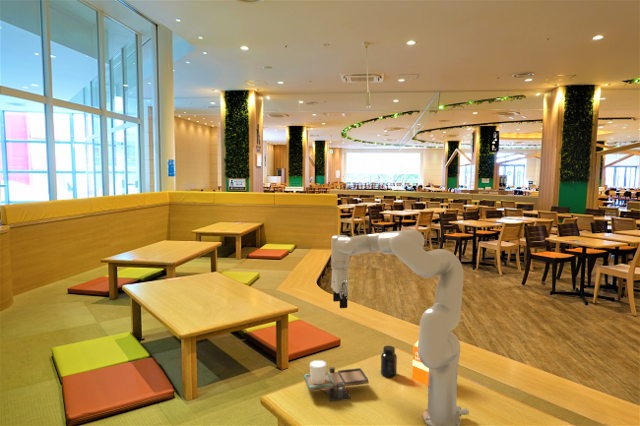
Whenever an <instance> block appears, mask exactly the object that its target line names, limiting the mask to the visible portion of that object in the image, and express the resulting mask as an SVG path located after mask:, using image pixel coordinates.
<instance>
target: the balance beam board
mask: <svg viewBox="0 0 640 426" xmlns="http://www.w3.org/2000/svg"><path fill="white" fill-rule="evenodd" d="M303 379H304V382H305V384H306V388H307V390H308V392H314V391H321V390H322V391H323V390H325V389H330V388H337V382H343V387H345V388H346V387H353V386H360V385H368V384H369V378H368V377H367V375H366V374H365V372H364V371H363V369H362V368H360V367H357V368H349V369H340V370H337V371H335V372H334V373H329V372H328V371H326V378H325V382H324V383H323V384H314V383H312V382H311V374H310V373H308V374H307V373H306V374H304V375H303Z"/></svg>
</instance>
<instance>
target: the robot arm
mask: <svg viewBox="0 0 640 426" xmlns="http://www.w3.org/2000/svg"><path fill="white" fill-rule="evenodd" d="M330 243H331V246H330V247H331V248H330V249H331V254H330V256H331V259H330V260H331V261H330V262H331V263H330V265H331V266H330V268H331V269H332V270H331V281H330V282H331V284H330V285H331V286H330V287H331V289H332V293H333V294H332V297H333V299H332V301H333V303H334V302H339V309H347V308H348V296H349V295H348V292H349V273H348V271H349V269H350V257H351V256H358V255H362V254H366V253H367V254H368V253H378V252H379V253H381V254H382V255H395V256H396V257H397V258H398V259H399V260H400V261H401V262H403V263H404V264H405V265H406V266H407V267H408V268H409V269H410V270H411V271H413V272H414V273H415V274H416V275H417V276H419V277H421V278H423V279H431V278H435V277H437V276H438V281H437V284H436V287H435V298H434V303H433V305H432V306H430V307H428V308H427V309H426V310H424V312H423V313H422V314H421V318H420V321H419V328H418V339H417V341H418V355H419V358H420V361H421V362H422V364H423V365H424V366H426V367H427V368H429V376H428V387H427V388H428V389H427V392H428V393H427V409H425V410H424V411H423V413H422V419H423V421H424V423H425V424H426V425H428V426H461V424H462V423H461V422H462V421H461V417H462V416H466V415H469V413H470V411H469V409H468V408H462V406H461V405H457V396H458V392H457V391H458V372H459V371H458V369H459V368H458V367H459V362H460V355H461V343H460V340H459V337H458V336H457V335H456V334H455V333H453V330H455V328H456V327H457V326H459V323H460V322H461V321H460V320H461V312H462V302H463V301H462V300H463V289H464V287H463V286H464V276H465V273H464V269H463V265H462V262H461V261H460V259H459V258H458V257H457V256H456V255H455V254H454V253H453V252H452V251H450V250H447V249H443V248H437V249H432V250H429V251H426V250H425V249H424V246H425V236H424V235H423V233H422V232H420V231H419V230H417V229H405V230H394V231H393V230H392V231H383V232H379V233H372V234H369V233H368V234H362V235H360V234H359V235H355V236H349V235H347V234H346V235H345V234H335V235H333V236H332V237H331V242H330Z"/></svg>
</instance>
